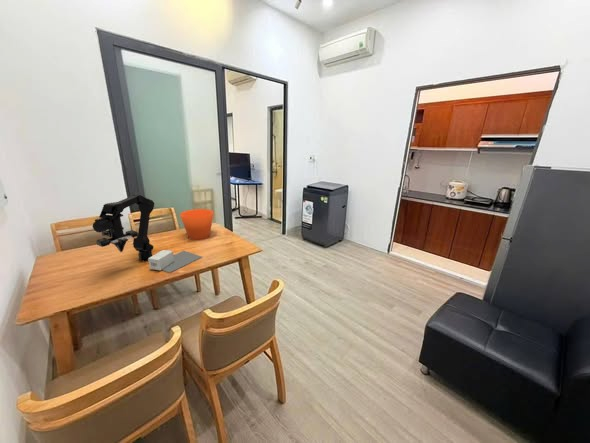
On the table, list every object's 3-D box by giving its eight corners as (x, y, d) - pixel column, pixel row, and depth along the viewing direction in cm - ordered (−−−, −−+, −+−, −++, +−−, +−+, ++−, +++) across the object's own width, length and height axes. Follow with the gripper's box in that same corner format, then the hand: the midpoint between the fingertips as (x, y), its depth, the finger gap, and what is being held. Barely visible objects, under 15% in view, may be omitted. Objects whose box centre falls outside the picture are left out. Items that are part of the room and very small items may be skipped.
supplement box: (160, 271, 141) (175, 261, 153) (158, 259, 139) (173, 250, 151) (149, 269, 143) (165, 259, 155) (147, 258, 141) (163, 249, 152)
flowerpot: (208, 228, 212) (207, 207, 206) (220, 237, 194) (218, 214, 188) (178, 234, 197) (175, 211, 191) (188, 245, 179) (185, 219, 173)
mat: (184, 251, 168) (184, 250, 168) (202, 257, 160) (202, 256, 160) (150, 265, 148) (150, 264, 148) (169, 273, 140) (169, 272, 140)
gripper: (125, 219, 143) (130, 243, 148) (88, 228, 127) (94, 254, 132) (136, 222, 138) (141, 247, 143) (98, 232, 122) (105, 259, 127)
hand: (121, 251), depth 136 cm, fingers closed
